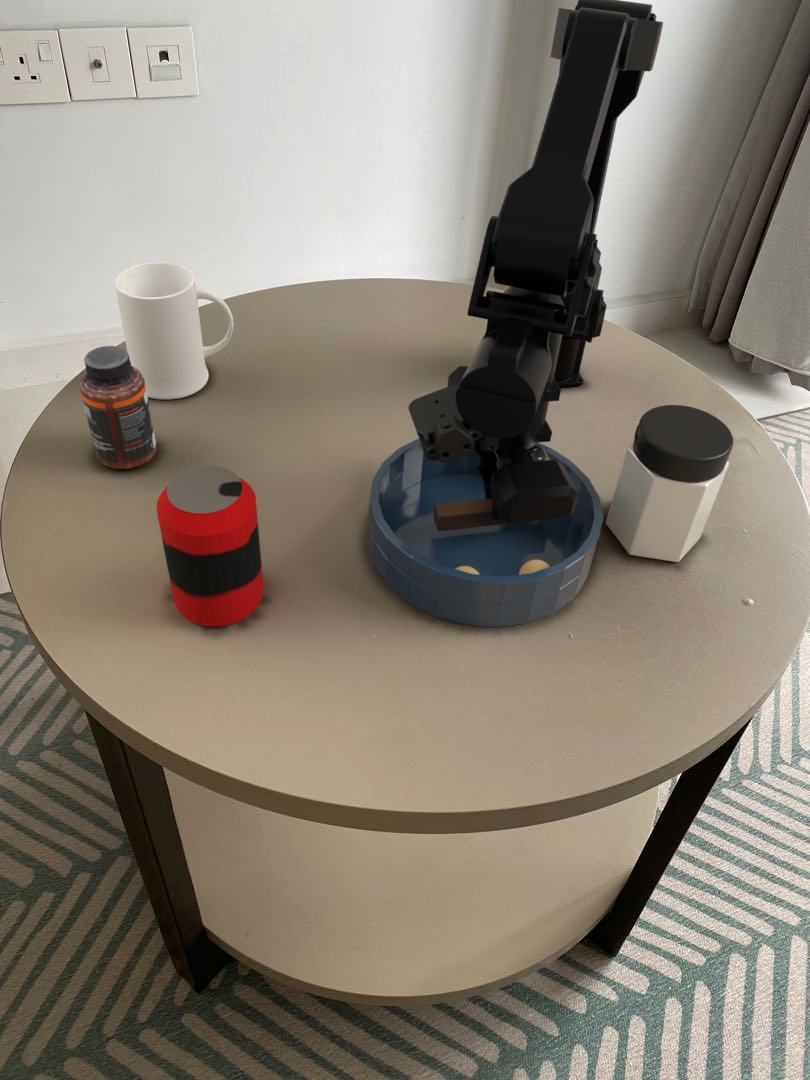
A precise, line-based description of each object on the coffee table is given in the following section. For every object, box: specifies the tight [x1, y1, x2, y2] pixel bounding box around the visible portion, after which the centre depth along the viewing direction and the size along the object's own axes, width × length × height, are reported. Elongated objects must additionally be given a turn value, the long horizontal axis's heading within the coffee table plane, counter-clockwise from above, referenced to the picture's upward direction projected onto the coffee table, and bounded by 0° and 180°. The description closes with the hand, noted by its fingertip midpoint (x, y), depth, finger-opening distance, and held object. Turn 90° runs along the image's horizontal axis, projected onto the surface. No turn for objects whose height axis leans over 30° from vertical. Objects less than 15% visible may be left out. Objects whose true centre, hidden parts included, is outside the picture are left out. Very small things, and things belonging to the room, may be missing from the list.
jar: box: [605, 404, 734, 563], centre depth 79 cm, size 9×8×12 cm
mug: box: [114, 261, 235, 401], centre depth 94 cm, size 12×8×12 cm
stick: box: [433, 499, 552, 532], centre depth 80 cm, size 11×2×2 cm, turn 102°
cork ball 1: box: [456, 566, 479, 574], centre depth 74 cm, size 3×3×3 cm
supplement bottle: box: [79, 345, 158, 470], centre depth 84 cm, size 6×6×11 cm
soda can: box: [155, 465, 265, 628], centre depth 70 cm, size 8×8×12 cm
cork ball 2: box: [519, 560, 550, 575], centre depth 75 cm, size 3×3×3 cm
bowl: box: [367, 437, 604, 628], centre depth 79 cm, size 21×21×6 cm
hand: (495, 510), depth 80 cm, fingers closed on stick, 2 cm apart
